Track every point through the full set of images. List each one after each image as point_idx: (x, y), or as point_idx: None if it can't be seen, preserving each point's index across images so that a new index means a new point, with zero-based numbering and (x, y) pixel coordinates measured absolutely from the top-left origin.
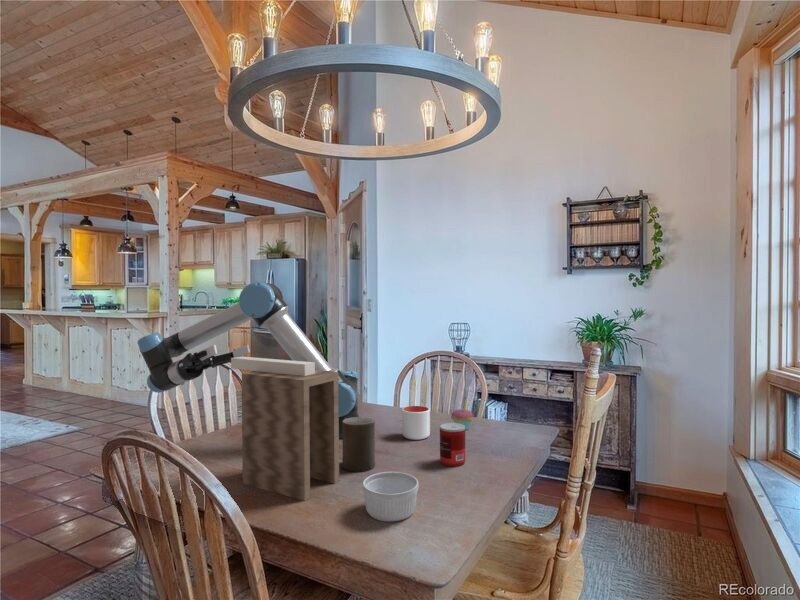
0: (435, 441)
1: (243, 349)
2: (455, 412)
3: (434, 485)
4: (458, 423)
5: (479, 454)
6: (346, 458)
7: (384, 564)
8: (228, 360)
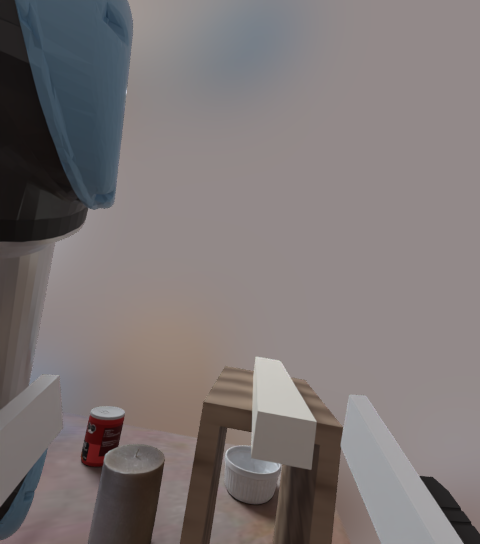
0: None
1: (34, 426)
2: None
3: (175, 468)
4: (95, 408)
5: (69, 442)
6: (149, 535)
7: None
8: None
